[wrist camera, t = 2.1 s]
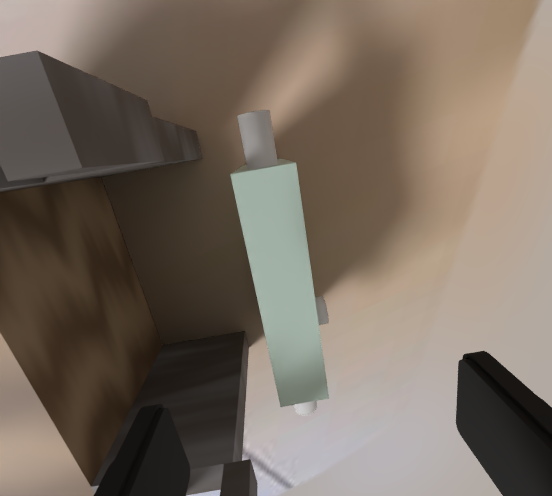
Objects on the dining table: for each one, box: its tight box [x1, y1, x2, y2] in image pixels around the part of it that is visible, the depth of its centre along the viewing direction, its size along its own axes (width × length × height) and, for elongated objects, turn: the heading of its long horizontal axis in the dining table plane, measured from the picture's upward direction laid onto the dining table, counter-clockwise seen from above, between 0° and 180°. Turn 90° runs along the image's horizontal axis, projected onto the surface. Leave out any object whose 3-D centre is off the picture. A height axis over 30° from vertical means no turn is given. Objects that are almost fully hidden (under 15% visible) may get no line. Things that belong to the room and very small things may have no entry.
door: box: [230, 110, 329, 416], centre depth 20 cm, size 19×4×10 cm, turn 10°
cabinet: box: [0, 51, 257, 496], centre depth 16 cm, size 22×14×17 cm, turn 10°
